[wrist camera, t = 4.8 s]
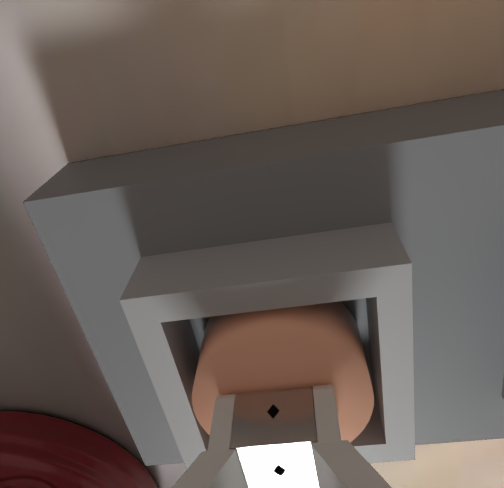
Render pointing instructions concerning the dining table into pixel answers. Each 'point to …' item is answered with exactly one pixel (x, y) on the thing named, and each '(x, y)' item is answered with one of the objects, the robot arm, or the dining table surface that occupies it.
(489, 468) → the dining table surface
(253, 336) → the terracotta button
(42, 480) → the canister
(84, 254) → the panel
